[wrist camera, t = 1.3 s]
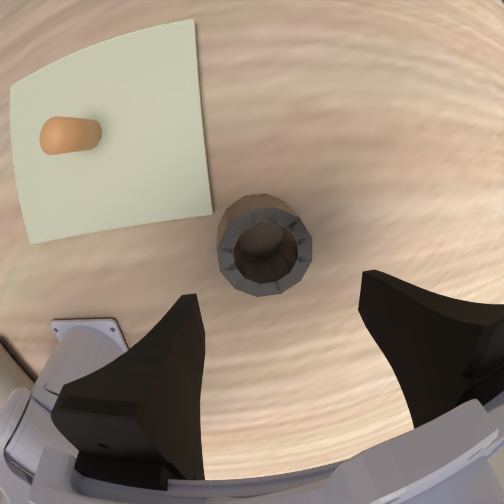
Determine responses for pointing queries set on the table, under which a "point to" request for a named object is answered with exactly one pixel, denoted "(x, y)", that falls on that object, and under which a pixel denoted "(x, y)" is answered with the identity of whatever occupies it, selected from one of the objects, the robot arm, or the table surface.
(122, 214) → the pegged green plate
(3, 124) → the table surface
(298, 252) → the collar
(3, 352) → the bent grey cylinder
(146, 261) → the table surface
